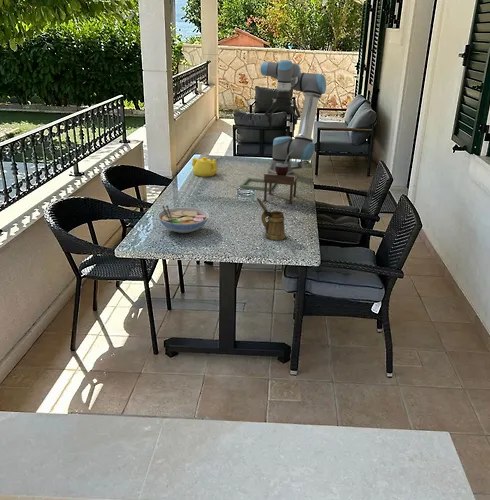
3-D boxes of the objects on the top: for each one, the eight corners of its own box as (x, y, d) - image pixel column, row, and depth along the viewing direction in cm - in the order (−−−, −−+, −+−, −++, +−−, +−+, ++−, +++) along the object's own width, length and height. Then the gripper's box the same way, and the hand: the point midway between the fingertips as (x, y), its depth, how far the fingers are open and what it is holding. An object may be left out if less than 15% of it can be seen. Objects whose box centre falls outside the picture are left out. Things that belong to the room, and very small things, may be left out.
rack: (268, 193, 289) (270, 167, 283) (296, 196, 286) (298, 170, 280) (263, 201, 274) (264, 174, 268) (292, 204, 271) (293, 177, 266)
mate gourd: (272, 177, 275) (273, 149, 269) (281, 174, 280) (283, 148, 274) (282, 180, 270) (284, 152, 264) (292, 177, 276) (293, 150, 270)
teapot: (228, 173, 324) (228, 156, 319) (210, 179, 309) (210, 161, 305) (203, 168, 333) (203, 151, 329) (185, 173, 319) (184, 156, 315)
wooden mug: (254, 232, 230) (256, 194, 223) (284, 233, 231) (286, 195, 224) (255, 240, 222) (257, 200, 215) (286, 240, 223) (288, 201, 216)
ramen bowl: (213, 239, 220) (213, 221, 217) (160, 242, 214) (159, 224, 211) (204, 219, 242) (204, 203, 239) (155, 222, 236) (154, 205, 233)
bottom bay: (247, 180, 312) (247, 177, 312) (276, 182, 309) (276, 180, 309) (240, 187, 296) (240, 185, 295) (270, 190, 293) (270, 188, 292)
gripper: (260, 89, 277) (259, 128, 285) (305, 92, 273) (302, 132, 281) (263, 88, 283) (261, 126, 292) (307, 91, 280) (304, 129, 288)
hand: (282, 129), depth 287 cm, fingers open, 13 cm apart
